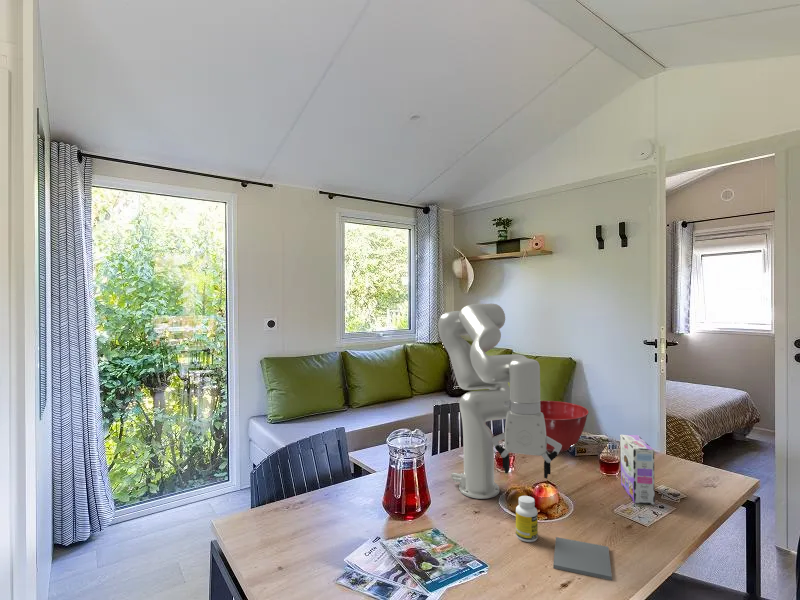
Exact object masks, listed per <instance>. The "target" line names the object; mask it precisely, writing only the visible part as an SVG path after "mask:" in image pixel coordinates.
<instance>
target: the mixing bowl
mask: <svg viewBox="0 0 800 600" xmlns="http://www.w3.org/2000/svg"><path fill="white" fill-rule="evenodd" d="M540 407H541V412H542V413H543V415H544V420H545V426H546V436H548V437H550V438H551V439H553V440H555V441H557V442H558V443H560V444H561V445H562V448H561V450H560V452H559V453H562V452H567V451H569V450H570V449H571V448H570V446H571V445H573V444H575V445H576V444H578V442H579V439H580V437H581V436H582V435H583V431H584V430H585V429H584V428H585V426H586V422H587V418H588V415H589V410H588V409H587V408H586V407H585V406H582V405H579V404H576V403H571V402H566V401H558V400H557V401H556V400H555V401H554V400H540ZM569 448H570V449H569ZM554 449H555V448H554V447H553V446H551V445H550V444H548V443H547V447H546V450H547V451H548V452H549V453H551V452H552V451H553V450H554ZM566 450H567V451H566Z"/></svg>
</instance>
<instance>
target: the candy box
mask: <svg viewBox="0 0 800 600" xmlns="http://www.w3.org/2000/svg"><path fill="white" fill-rule="evenodd" d="M619 446H620V447H619V448H620V449H619V450H620V451H619V452H620V485H621V486H622V488H623V490H625V492H626V494H627V495H628V496H629V498H630V499H631V500H632V502H633V503H634V504H642V505H653V506H654V505H655V503H656V501H655V498H656V497H655V449H654V448H653V447H651V445H649V444H648V443H647V442H646V441H645V440H644V439H643V438H642V437H641V436H640V435H636V434H620V435H619Z"/></svg>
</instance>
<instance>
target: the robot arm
mask: <svg viewBox="0 0 800 600" xmlns="http://www.w3.org/2000/svg"><path fill="white" fill-rule="evenodd" d="M505 322H506V314H505V310H504V309H503V307H501V305H498V304H497V303H471V304H467V305H464V307H463V308H461V310H455V311H452V310H451V311H448V312H445V313H443V314H441V315H440V317H439V319H438V322H437V323H438V334H439V337H440V340H441V342H442V345H443V347H444V348H445V350H446V352H447V353H448V356H449V358H450V362H451V365H452V369H453V373H454V376H455V379H456V382H457V385H458V387H459V388H460V389H462V390H463V391H468V392H466V393H464V394H463V395H461V396H460V398H459V411H460V416H461V423H462V436H463V438H462V441H463V442H462V443H463V445H462V446H463V450H462V451H463V452H462V453H463V472H460V473H457V472H451V475H450V477H451V479H452V482H456V483H459V486H458V488H459V492H460V493H461V494H462V495H464V496H466V497H468V498H472V499H479V500H480V499H481V500H485V499H491V498H494V497H497V496H498V495H499V493H500V486H499V485H498V484H497V483H496V482H495V458H494V457H495V451H494V449H495V450H496V451H497V452H498V453H499V455H500V457H501V459H502V469H504V473H505V474H508V473H509V471H510V453H512V454H520V455H529V456H539V457H542V458H543V459H544V460H543V479H545V480H546V479H548V476H549V475H551V462H552V461H553V460H554V459H556V458H557V457H558V455H559V454H560V453H561V452H560V450H561V448H562V445H561V444H560V443H558V442H557V441H555V440H553V439H551V438H550V437H548V436H546V426H545V420H544V415H543V413H542V412H541V407H540V401H541V367H540V363H539V361H537V360H536V359H534V358H528V357H526V356H525V355H523V354H517V353H516V354H514V353H513V354H495V355H488V354H487V353H486V352H488V351H490V350H492V349H494V348H495V347H496V346H497V345H498V344H499V343H500V341H501V337H502V332H501V330H500V329H501V328H503V326H504V325H505ZM462 336H469V337H470V339H471V340H472V343H471V344H470V343H469V342H468V341H467V340H466V339H464V338H462ZM498 420H505V426H504V432H502V433H500V434H498V435H494V434H493V432H492V430H491V429H490V427H489V426H488V425H487V422H491V421H498ZM502 440H504V447H503V446H502V445H501V444H500V441H502ZM547 443H548V444H550V445H551V446H553V447H554V448H555V449H554V450H553V451H552V452H548V451H547V450H546V447H547Z"/></svg>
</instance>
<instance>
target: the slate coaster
mask: <svg viewBox="0 0 800 600" xmlns="http://www.w3.org/2000/svg"><path fill="white" fill-rule="evenodd" d="M609 549H610V548H609V546H608V545H607V546H606V545H602V544H596V543H590V542H585V541H580V540H575V539H568V538H563V537H558V536H556V537H555V543H554V551H553V552H554V553H553V563H552V566H553V569H556V570H561V571H565V572H571V573H575V574H579V575H584V576H590V577H594V578H598V579H603V580H609V581H612V580H613V574H612V566H611V558H610V550H609Z"/></svg>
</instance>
